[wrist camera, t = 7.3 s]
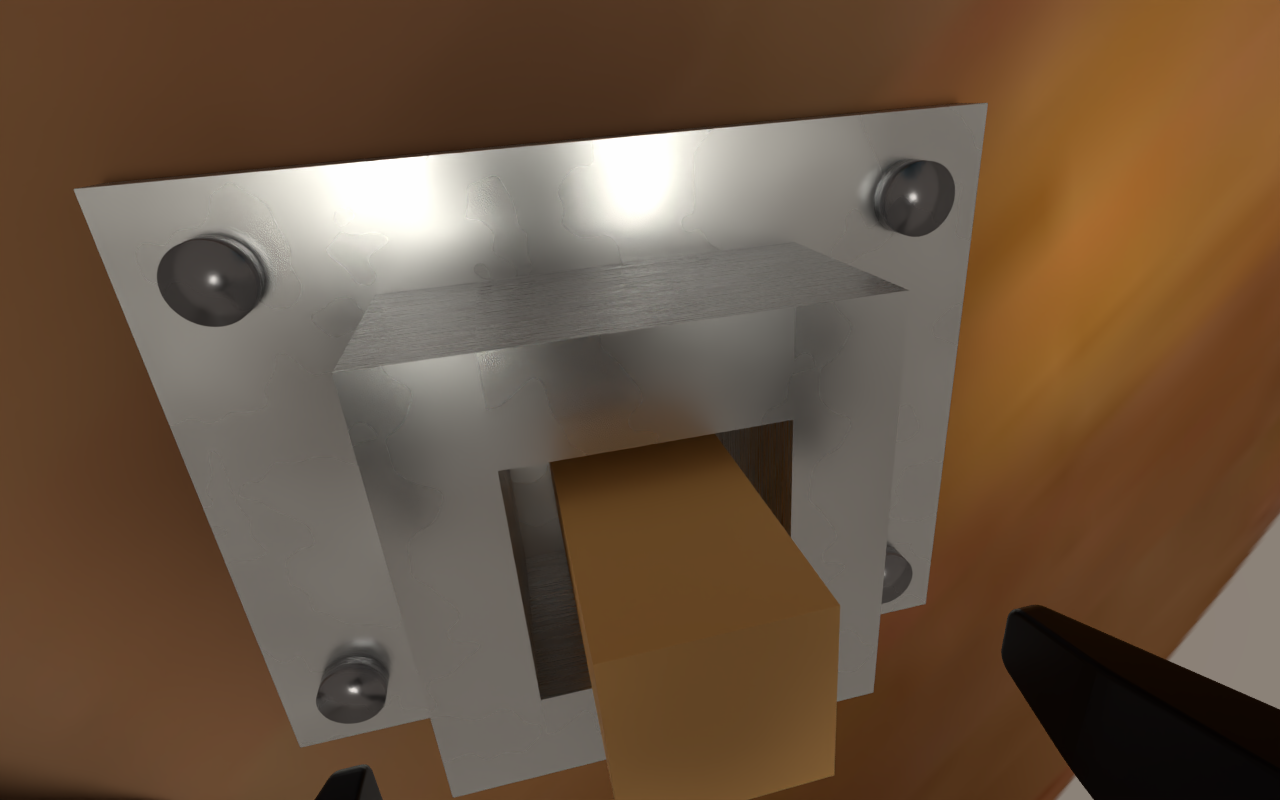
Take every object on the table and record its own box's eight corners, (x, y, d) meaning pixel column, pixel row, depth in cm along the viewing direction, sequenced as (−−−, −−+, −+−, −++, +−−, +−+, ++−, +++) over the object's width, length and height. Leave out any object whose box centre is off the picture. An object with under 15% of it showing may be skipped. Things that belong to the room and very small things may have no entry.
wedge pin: (684, 495, 17) (834, 775, 10) (559, 520, 17) (621, 835, 9) (674, 379, 16) (840, 605, 9) (538, 403, 15) (593, 664, 8)
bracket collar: (906, 583, 21) (1035, 724, 16) (308, 716, 18) (247, 938, 14) (958, 103, 16) (1179, 100, 11) (101, 183, 13) (-138, 230, 8)
